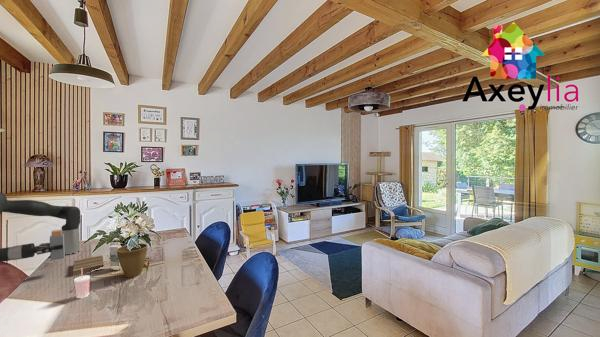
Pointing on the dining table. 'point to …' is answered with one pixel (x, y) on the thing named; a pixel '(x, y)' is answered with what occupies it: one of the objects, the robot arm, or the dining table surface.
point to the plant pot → (132, 260)
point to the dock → (87, 264)
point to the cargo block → (56, 233)
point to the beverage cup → (82, 285)
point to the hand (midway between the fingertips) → (63, 245)
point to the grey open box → (60, 252)
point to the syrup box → (114, 255)
